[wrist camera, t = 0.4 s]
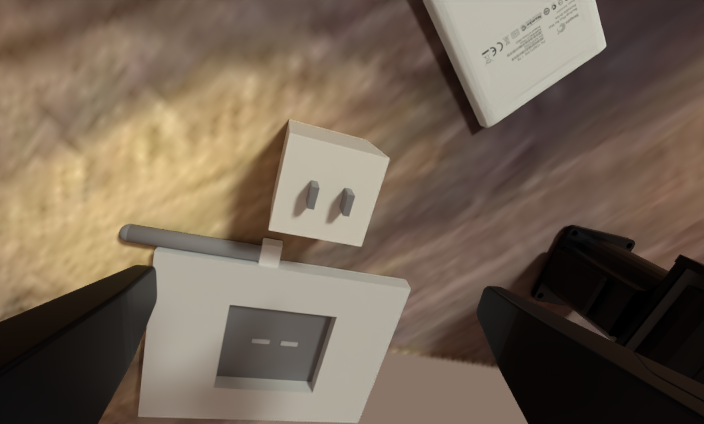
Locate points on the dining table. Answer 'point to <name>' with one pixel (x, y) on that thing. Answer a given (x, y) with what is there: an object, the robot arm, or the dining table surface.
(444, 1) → the external hard drive
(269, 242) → the grey bar
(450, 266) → the dining table surface
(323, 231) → the charger brick
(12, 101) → the dining table surface
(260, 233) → the dining table surface
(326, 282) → the outlet plate
